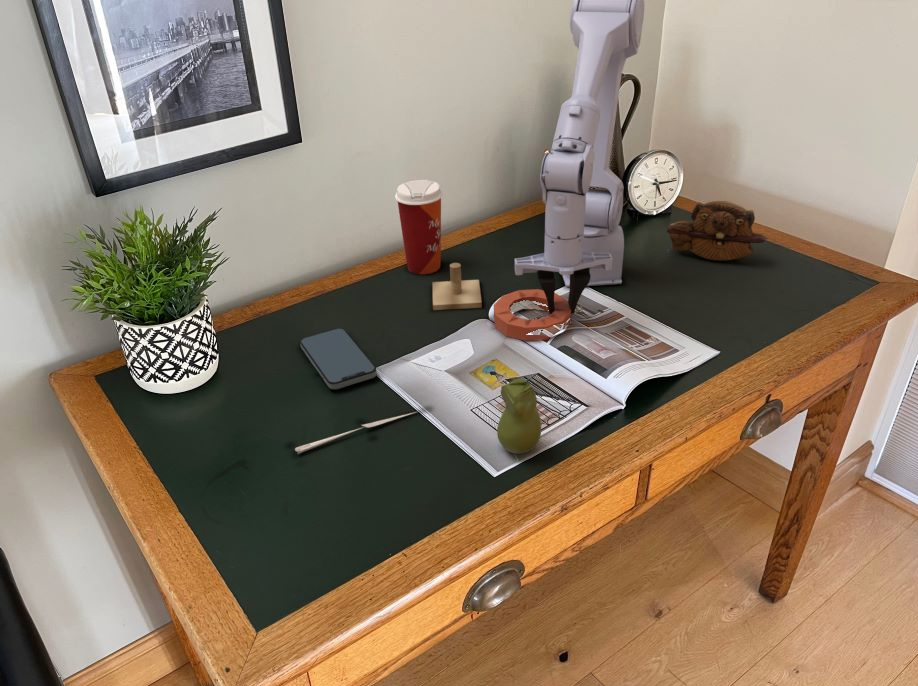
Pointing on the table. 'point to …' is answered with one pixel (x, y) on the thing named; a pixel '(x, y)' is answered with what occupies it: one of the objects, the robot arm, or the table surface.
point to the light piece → (317, 443)
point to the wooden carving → (716, 231)
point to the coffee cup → (421, 224)
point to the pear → (519, 418)
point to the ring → (521, 326)
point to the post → (456, 292)
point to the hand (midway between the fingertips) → (560, 311)
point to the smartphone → (338, 359)
